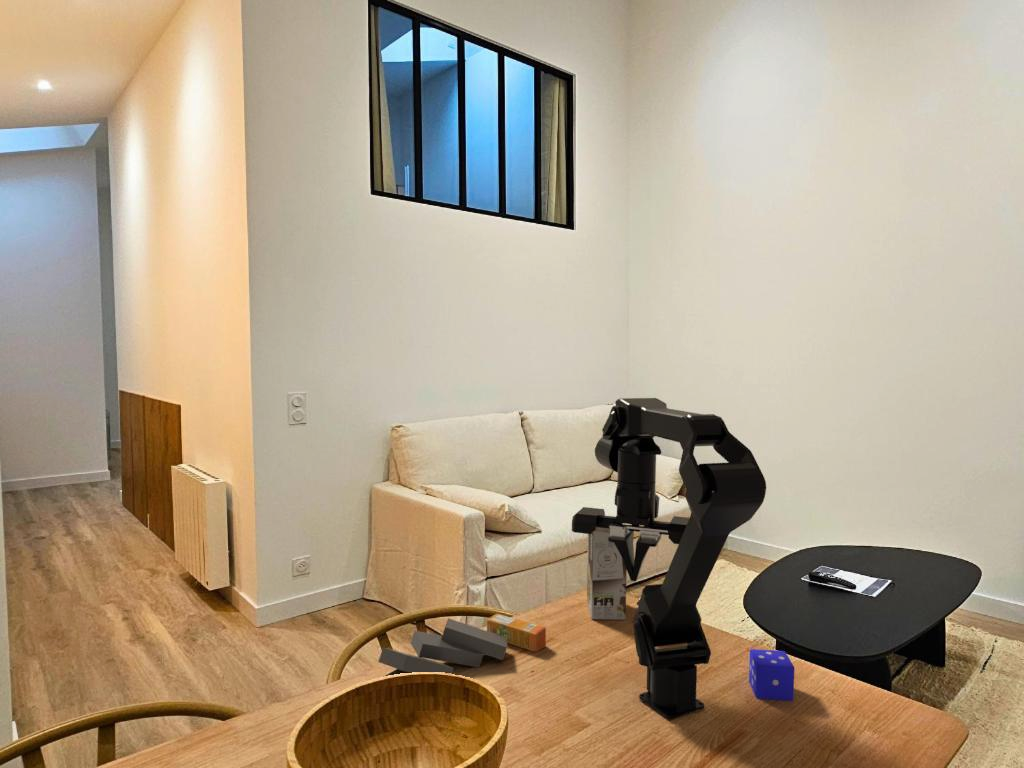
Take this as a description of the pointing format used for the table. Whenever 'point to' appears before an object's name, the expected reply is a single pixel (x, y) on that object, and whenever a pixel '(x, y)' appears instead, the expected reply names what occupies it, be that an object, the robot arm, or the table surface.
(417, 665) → the domino
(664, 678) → the robot arm
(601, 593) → the coffee box
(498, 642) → the domino
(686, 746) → the table surface
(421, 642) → the domino
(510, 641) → the supplement box
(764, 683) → the die
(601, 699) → the table surface
